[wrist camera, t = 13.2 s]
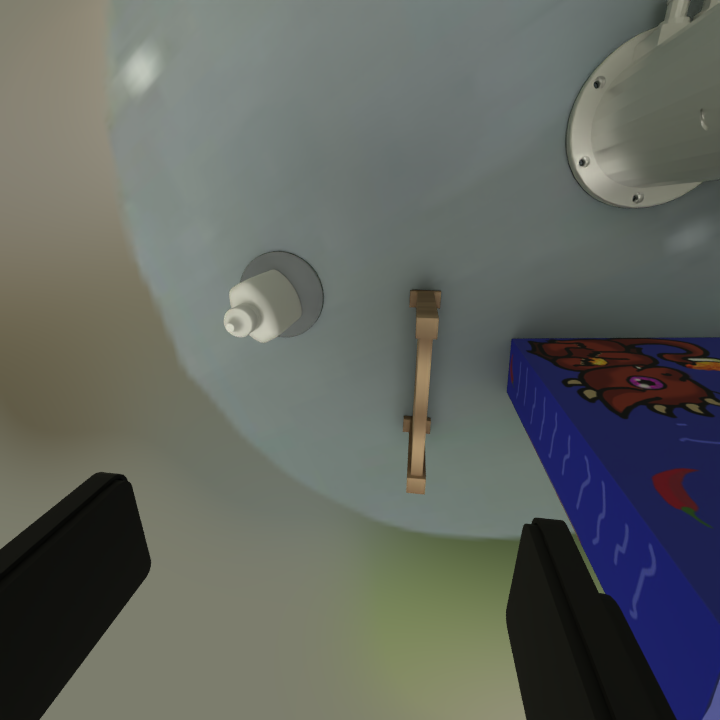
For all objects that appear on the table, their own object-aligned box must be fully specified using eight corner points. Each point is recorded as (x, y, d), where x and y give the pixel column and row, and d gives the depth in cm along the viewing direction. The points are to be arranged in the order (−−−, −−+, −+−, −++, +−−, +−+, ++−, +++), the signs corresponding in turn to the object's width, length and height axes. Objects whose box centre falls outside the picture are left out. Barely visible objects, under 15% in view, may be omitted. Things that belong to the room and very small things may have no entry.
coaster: (237, 250, 40) (234, 251, 39) (322, 252, 39) (320, 252, 38) (246, 333, 43) (243, 335, 43) (324, 337, 42) (323, 339, 41)
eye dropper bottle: (264, 321, 42) (207, 360, 30) (259, 268, 40) (197, 289, 28) (303, 323, 41) (260, 363, 30) (301, 269, 39) (253, 292, 28)
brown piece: (410, 289, 39) (407, 317, 29) (440, 290, 38) (448, 319, 28) (403, 427, 44) (398, 491, 34) (429, 430, 44) (432, 495, 34)
